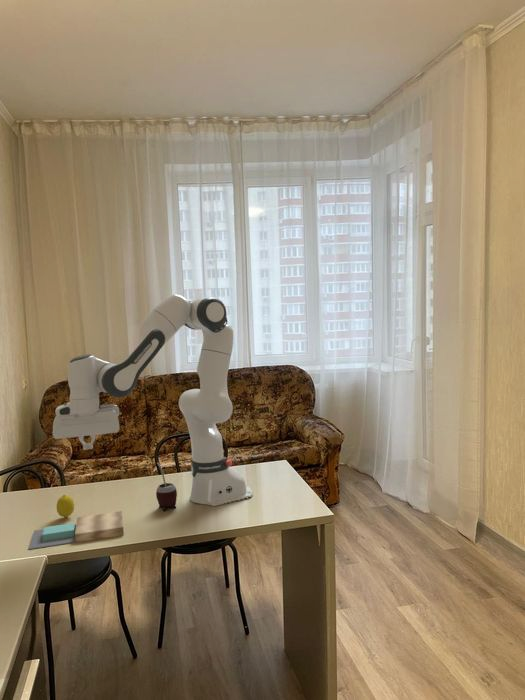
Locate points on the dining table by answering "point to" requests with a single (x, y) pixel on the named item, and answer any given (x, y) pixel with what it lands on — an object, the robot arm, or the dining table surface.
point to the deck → (99, 526)
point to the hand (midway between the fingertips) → (88, 449)
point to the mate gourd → (166, 494)
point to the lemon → (65, 506)
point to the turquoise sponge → (59, 532)
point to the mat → (39, 543)
